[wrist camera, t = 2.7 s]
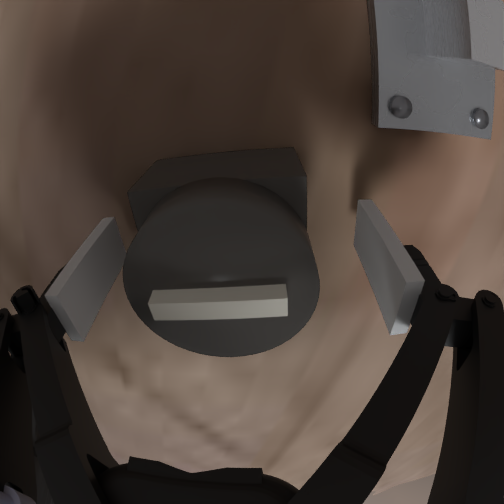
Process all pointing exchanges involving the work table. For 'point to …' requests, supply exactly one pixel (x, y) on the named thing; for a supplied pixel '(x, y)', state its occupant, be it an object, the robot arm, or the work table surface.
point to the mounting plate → (435, 64)
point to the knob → (223, 251)
